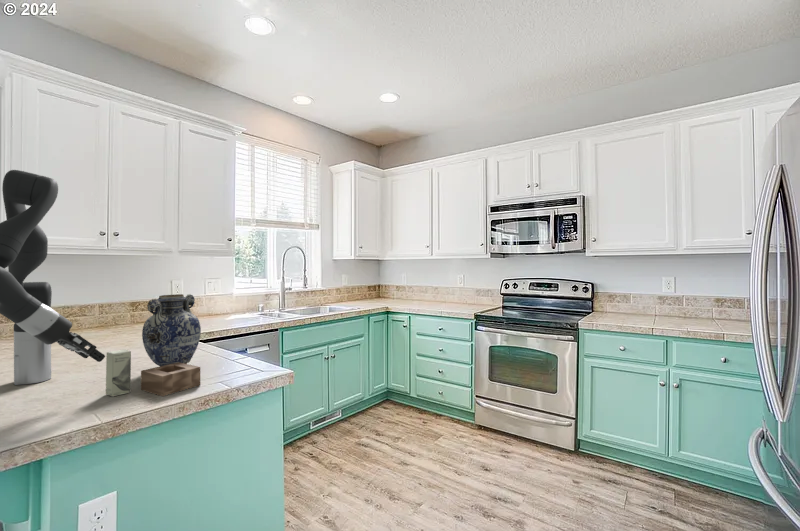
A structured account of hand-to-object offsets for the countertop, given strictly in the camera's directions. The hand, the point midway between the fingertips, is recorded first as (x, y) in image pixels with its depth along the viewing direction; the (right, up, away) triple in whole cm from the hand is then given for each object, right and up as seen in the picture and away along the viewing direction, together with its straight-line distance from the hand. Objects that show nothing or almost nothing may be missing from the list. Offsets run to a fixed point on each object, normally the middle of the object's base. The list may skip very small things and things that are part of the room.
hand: (95, 357), depth 115 cm
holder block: (+16, -12, +11) cm, 23 cm away
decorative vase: (+5, -12, +30) cm, 33 cm away
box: (+3, -12, +5) cm, 14 cm away
